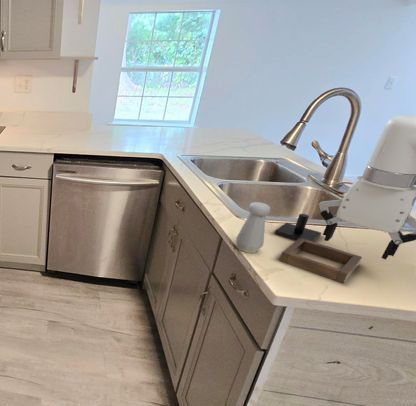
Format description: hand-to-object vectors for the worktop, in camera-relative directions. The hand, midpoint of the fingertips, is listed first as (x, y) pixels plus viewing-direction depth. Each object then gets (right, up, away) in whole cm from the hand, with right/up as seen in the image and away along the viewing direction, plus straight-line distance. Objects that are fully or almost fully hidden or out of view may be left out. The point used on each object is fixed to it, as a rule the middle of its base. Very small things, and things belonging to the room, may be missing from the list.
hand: (355, 247), depth 83 cm
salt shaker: (-15, -2, +13) cm, 20 cm away
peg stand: (+4, +1, +19) cm, 19 cm away
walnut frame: (-2, -5, +6) cm, 8 cm away
